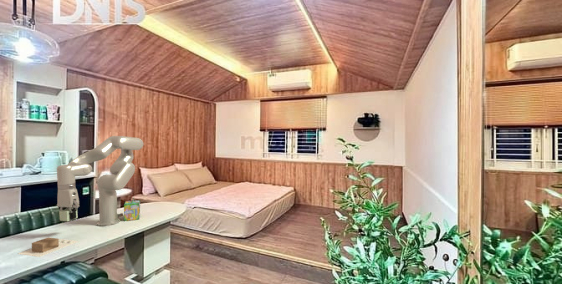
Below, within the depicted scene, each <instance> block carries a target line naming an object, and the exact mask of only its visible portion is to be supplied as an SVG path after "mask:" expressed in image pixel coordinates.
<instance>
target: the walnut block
mask: <svg viewBox="0 0 562 284" xmlns="http://www.w3.org/2000/svg"><path fill="white" fill-rule="evenodd" d="M59 239H60V238H56V237H49V236H48V237H45V238H42V239H39V240H36V241H33V242H31V249H32V251H34V252H41V253H43V252H46V251H49V250H51V249H54V248H56V247H59Z"/></svg>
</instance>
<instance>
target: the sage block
mask: <svg viewBox="0 0 562 284" xmlns="http://www.w3.org/2000/svg"><path fill="white" fill-rule="evenodd" d="M72 209H73V208H72ZM58 212H59V213H58V214H59V221H60V222H69V221H72V220H76V219H78V210H77V211H76V218H75V219H72V220H70V215H69V213H70V210H69V208H67V209H64V210H61V211H60V210H59V211H58Z"/></svg>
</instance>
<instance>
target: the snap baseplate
mask: <svg viewBox="0 0 562 284" xmlns="http://www.w3.org/2000/svg"><path fill="white" fill-rule="evenodd" d="M58 239H59V247H56V248H54V249H51V250H49V251H46V252H43V253H41V252H34V251H32V248H29V249H27V250H24V251H21V252H19V253H17V254H18V255H22V256H23V255H24V256H31V257H37V258H40V257H43V256H46V255H48V254H51V253H54V252H56V251H59V250H61V249H64V248H66V247H68V246H71V245H73V244H76V243H79V242H80V241H79V240H71V239H65V238H64V239H63V238H58Z"/></svg>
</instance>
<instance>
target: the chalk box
mask: <svg viewBox="0 0 562 284" xmlns="http://www.w3.org/2000/svg"><path fill="white" fill-rule="evenodd" d="M134 198H135V196H133V198H132V200H126V201H125V202H124V204H123V222H129V221H138V220H140V217H141V200H140V199H139V200H134Z"/></svg>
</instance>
